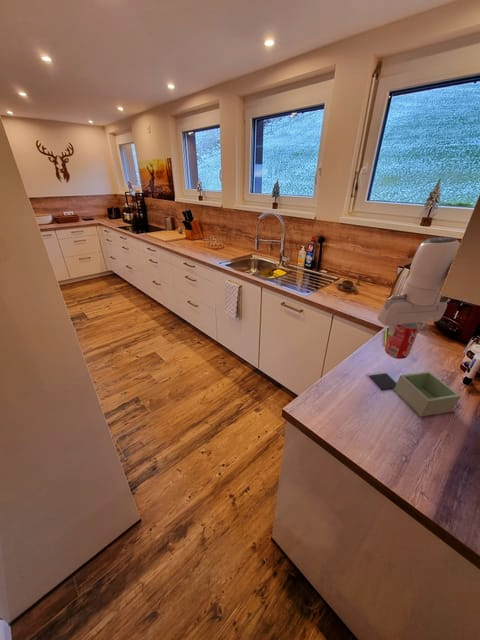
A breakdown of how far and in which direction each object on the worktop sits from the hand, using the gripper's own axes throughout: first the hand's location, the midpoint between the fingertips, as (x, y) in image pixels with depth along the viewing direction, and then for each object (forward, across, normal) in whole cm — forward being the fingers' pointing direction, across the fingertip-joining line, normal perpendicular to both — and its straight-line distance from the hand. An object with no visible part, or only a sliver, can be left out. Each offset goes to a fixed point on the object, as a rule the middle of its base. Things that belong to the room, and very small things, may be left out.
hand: (403, 333), depth 84 cm
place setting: (+20, +39, +83) cm, 94 cm away
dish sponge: (+20, +23, +23) cm, 39 cm away
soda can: (+8, 0, 0) cm, 8 cm away
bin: (+20, +6, -10) cm, 23 cm away
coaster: (+20, 0, 0) cm, 20 cm away
